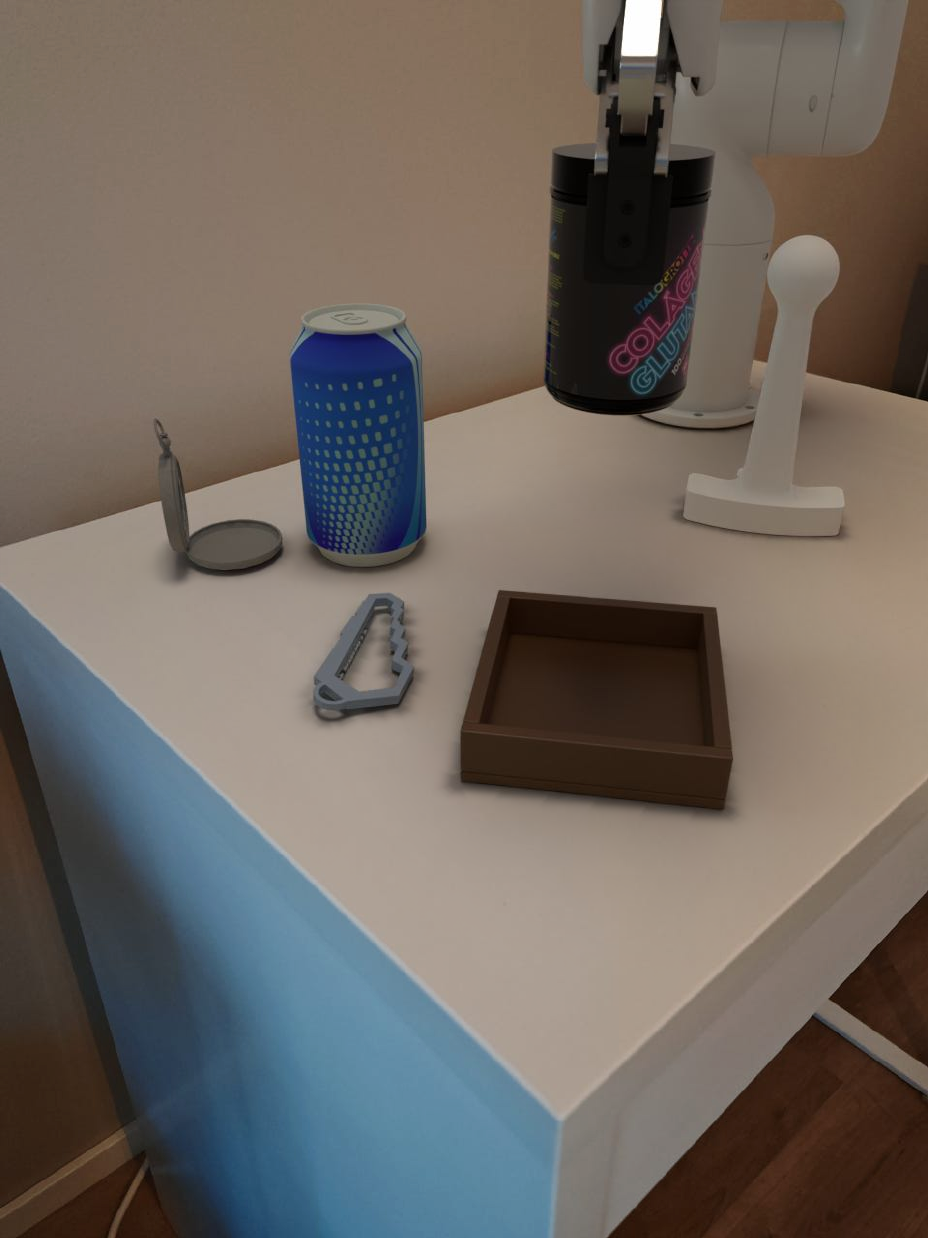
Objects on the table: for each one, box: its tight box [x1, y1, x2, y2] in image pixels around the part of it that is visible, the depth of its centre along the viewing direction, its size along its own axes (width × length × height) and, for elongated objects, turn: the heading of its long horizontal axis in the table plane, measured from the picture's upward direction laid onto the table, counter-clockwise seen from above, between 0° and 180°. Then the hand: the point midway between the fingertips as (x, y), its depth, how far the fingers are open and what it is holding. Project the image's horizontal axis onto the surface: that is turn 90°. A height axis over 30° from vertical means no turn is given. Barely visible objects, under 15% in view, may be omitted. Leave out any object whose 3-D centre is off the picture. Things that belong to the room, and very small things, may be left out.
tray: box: [459, 589, 734, 810], centre depth 51 cm, size 14×13×3 cm
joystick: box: [682, 234, 846, 537], centre depth 68 cm, size 11×8×20 cm
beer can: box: [289, 302, 427, 568], centre depth 64 cm, size 8×8×16 cm
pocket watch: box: [153, 418, 283, 571], centre depth 65 cm, size 8×8×10 cm
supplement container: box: [542, 142, 715, 417], centre depth 43 cm, size 7×7×10 cm
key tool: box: [312, 592, 415, 712], centre depth 56 cm, size 12×1×5 cm
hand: (624, 259), depth 42 cm, fingers closed on supplement container, 6 cm apart
